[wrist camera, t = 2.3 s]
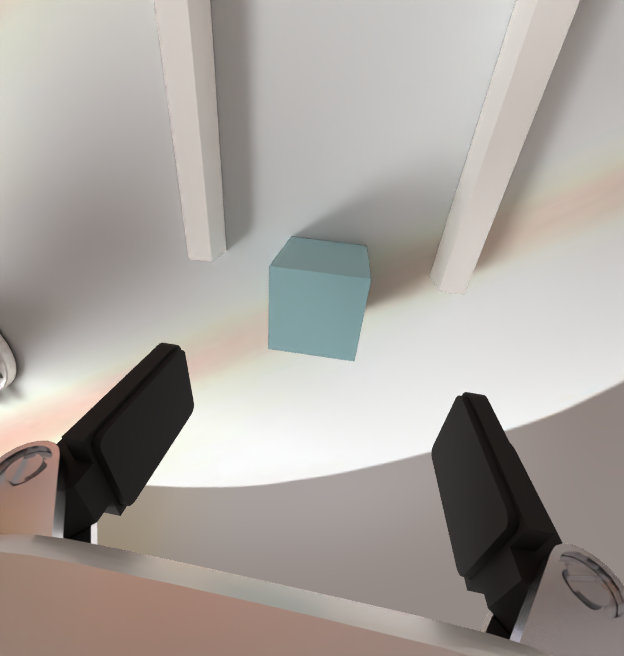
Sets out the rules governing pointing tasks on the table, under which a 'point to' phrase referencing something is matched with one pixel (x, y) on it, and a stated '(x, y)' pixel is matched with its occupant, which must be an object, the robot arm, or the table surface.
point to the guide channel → (482, 160)
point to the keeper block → (318, 297)
